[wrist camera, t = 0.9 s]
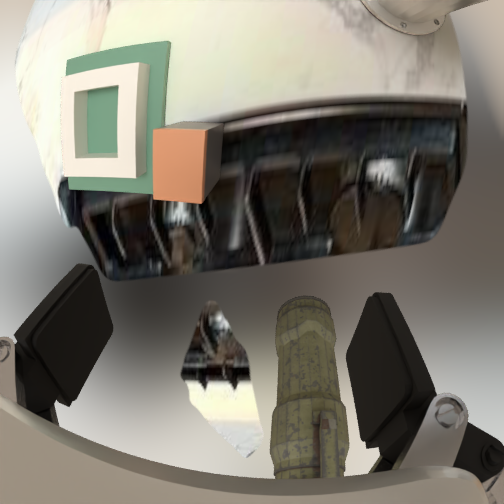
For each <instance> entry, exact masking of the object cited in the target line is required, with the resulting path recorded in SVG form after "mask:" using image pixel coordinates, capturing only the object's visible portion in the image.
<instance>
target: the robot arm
mask: <svg viewBox="0 0 504 504" xmlns="http://www.w3.org/2000/svg"><path fill="white" fill-rule="evenodd" d="M361 1H362V2H363V4H364V5H365V6H366V7H367V9H368V10H369V11H370V12H371V13H372V14H373V15H374V16H376V17H377V18H378V19H379V20H381V21H382V22H383V23H385V24H386V25H388V26H390V27H392V28H393V29H396V30H398V31H401V32H403V33H407V34H411V35H426V34H429V33H432V32H434V31H436V30H438V29H439V28H440V27H441V26H442V24H443V22H444V20H445V15H446V14H447V13H450V12H452V11H456V10H458V9H461V8H464V7H467V6H470V5H473V4H477V3H480V2H483V1H486V0H361ZM401 26H402V27H401ZM112 332H113V324H112V320H111V317H110V314H109V311H108V308H107V305H106V301H105V297H104V294H103V290H102V287H101V283H100V279H99V275H98V272H97V270H95V269H94V267H93V266H92V265H87V264H77V265H76V266H75V267H74V268H73V269H72V270H71V271H70V272H69V273H68V274H67V275H66V276H65V277H64V278H63V279H62V280H61V281H60V282H59V283H58V284H57V285H56V286H55V287H54V289H53V290H52V291H51V292H50V293H49V294H48V295H47V296H46V297H45V299H43V301H42V302H41V303H40V304H39V305H38V306H37V307H36V309H35V310H34V311H33V312H32V313H31V314H30V316H29V317H28V318H27V319H26V320H25V321H24V323H23V324H22V325H21V326H20V328H19V329H18V330H17V331H16V333H15V334H14V336H15V338H16V340H17V343H16V344H14V342H13V340H12V339H10V338H9V337H0V504H504V446H503V444H502V443H501V442H500V441H499V440H498V439H496V438H494V437H493V436H491V435H489V434H488V433H486V432H484V431H482V430H481V429H479V428H477V427H476V426H474V425H472V424H471V423H469V422H468V410H467V408H466V406H465V403H464V402H463V401H462V400H461V399H460V398H459V397H457V396H456V395H453V394H450V393H442V394H439V395H437V394H436V392H435V387H434V384H433V382H432V379H431V377H430V374H429V372H428V370H427V367H426V365H425V363H424V360H423V358H422V356H421V353H420V351H419V349H418V347H417V345H416V342H415V340H414V338H413V336H412V334H411V332H410V329H409V327H408V325H407V323H406V321H405V319H404V317H403V315H402V313H401V311H400V309H399V307H398V305H397V303H396V301H395V299H394V297H393V295H392V294H391V293H379V292H376V293H374V294H373V296H371V297H368V299H367V301H366V304H365V307H364V309H363V312H362V315H361V318H360V320H359V323H358V325H357V328H356V330H355V333H354V335H353V338H352V340H351V343H350V345H349V347H348V350H347V353H346V362H347V367H348V372H349V377H350V381H351V387H352V392H353V397H354V403H355V408H356V413H357V420H358V426H359V432H360V438H361V440H362V441H363V442H364V441H365V442H366V448H367V449H369V448H376V447H379V452H380V457H379V458H378V460H377V461H376V463H375V464H374V466H373V467H372V468H371V470H370V471H369V473H368V474H363V475H355V476H345V477H332V478H315V479H264V478H249V477H238V476H229V475H220V474H213V473H206V472H200V471H194V470H189V469H184V468H179V467H175V466H170V465H166V464H162V463H158V462H154V461H150V460H146V459H143V458H140V457H136V456H133V455H130V454H127V453H123V452H120V451H117V450H115V449H112V448H109V447H106V446H104V445H101V444H98V443H96V442H93V441H90V440H88V439H86V438H83V437H81V436H79V435H76V434H74V433H72V432H70V431H68V430H65V429H63V428H61V427H59V423H58V419H57V415H56V410H55V406H54V403H55V401H56V400H57V401H58V402H59V403H61V404H64V405H66V406H68V407H70V405H71V403H72V401H75V400H76V399H77V397H78V395H79V393H80V391H81V389H82V387H83V386H84V383H85V382H86V380H87V378H88V376H89V374H90V372H91V370H92V369H93V367H94V365H95V363H96V361H97V360H98V358H99V356H100V354H101V352H102V351H103V349H104V347H105V345H106V344H107V342H108V340H109V339H110V337H111V335H112Z"/></svg>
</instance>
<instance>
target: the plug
mask: <svg viewBox="0 0 504 504" xmlns="http://www.w3.org/2000/svg"><path fill="white" fill-rule="evenodd" d="M223 129H224V123H211V122H185V121H183V122H179V123H175V124H171V125H168V126H164V127H160V128H156V129H153V197H154V199H157V200H168V201H178V202H189V203H198V204H202V203H203V201H204V200H205V198H206V197H207V196H208V194H209V193H210V191H211V190H212V189H213V187H214V186H215V185H216V183H217V182H218V180H219V179H220V168H221V154H222V141H223Z"/></svg>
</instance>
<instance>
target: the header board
mask: <svg viewBox="0 0 504 504" xmlns="http://www.w3.org/2000/svg"><path fill="white" fill-rule="evenodd" d="M170 45H171V42H169V41H163V42H153V43H145V44H138V45H131V46H125V47H120V48H114V49H109V50H105V51H100V52H96V53H91V54H87V55H83V56H80V57H76V58H72V59H69V60H67V67H66V76H64V77H62V84H61V142H62V158H63V169H64V177H68V182H69V189H76V190H98V191H116V192H132V193H145V194H153V129H156V128H160V127H164V121H165V102H166V87H167V75H168V64H169V54H170Z"/></svg>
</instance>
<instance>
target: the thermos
mask: <svg viewBox="0 0 504 504" xmlns="http://www.w3.org/2000/svg"><path fill="white" fill-rule="evenodd" d="M277 321H278V322H277V325H276V339H275V343H276V350H277V355H278V357H279V361H278V387H277V406H276V408H275V409H274V411H273V415H272V426H271V441H270V455H271V458H272V461H273V464H274V476H275V479H315V478H332V477H344V472H345V460H346V457H347V453H348V450H349V435H348V425H347V416H346V408H345V406H344V404H343V403H342V401H341V398H340V390H339V382H338V374H337V367H336V359H335V353H334V346H335V342H336V334H335V329H334V323H333V319H332V318H331V313H330V308H329V307H328V305H327V304H326V303H325V302H324V301H323V300H321V299H319V298H316V297H314V296H300V297H295V298H293V299H290V300H288V301H287V302H286V303H284V304H283V305H282V306H281V308H280V309H279V311H278V316H277Z"/></svg>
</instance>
